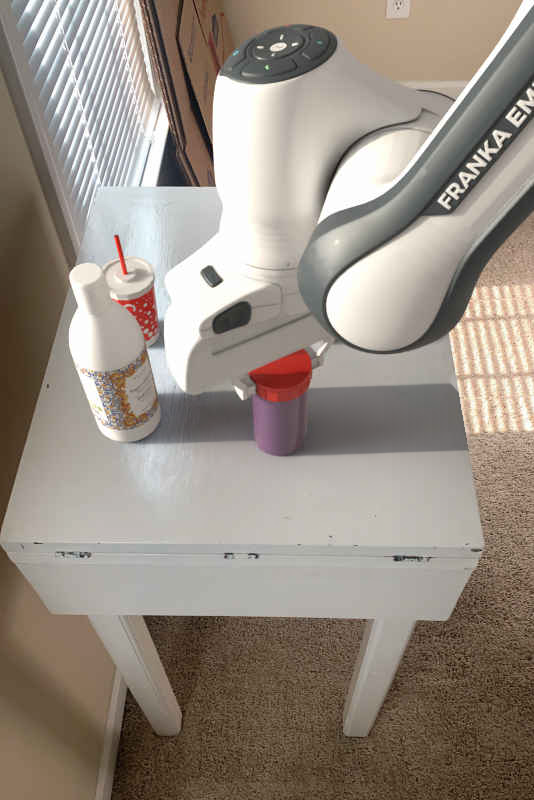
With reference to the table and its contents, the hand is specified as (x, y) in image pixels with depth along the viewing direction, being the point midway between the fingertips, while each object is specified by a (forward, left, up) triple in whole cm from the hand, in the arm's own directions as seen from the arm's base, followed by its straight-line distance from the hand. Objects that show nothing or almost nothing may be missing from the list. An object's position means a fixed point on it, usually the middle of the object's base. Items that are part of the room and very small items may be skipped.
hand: (278, 378), depth 65 cm
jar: (0, 0, -9) cm, 9 cm away
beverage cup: (+7, -21, -9) cm, 24 cm away
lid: (0, 0, +2) cm, 2 cm away
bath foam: (+13, -10, -9) cm, 19 cm away
